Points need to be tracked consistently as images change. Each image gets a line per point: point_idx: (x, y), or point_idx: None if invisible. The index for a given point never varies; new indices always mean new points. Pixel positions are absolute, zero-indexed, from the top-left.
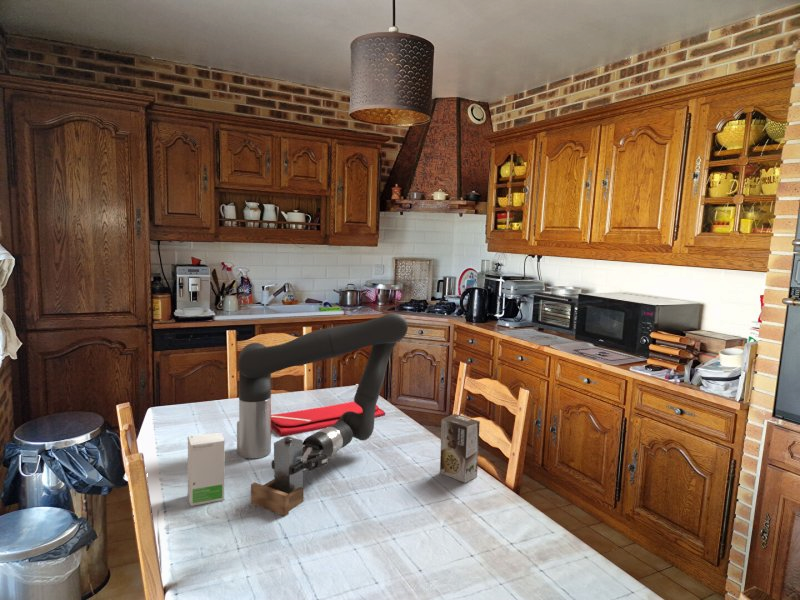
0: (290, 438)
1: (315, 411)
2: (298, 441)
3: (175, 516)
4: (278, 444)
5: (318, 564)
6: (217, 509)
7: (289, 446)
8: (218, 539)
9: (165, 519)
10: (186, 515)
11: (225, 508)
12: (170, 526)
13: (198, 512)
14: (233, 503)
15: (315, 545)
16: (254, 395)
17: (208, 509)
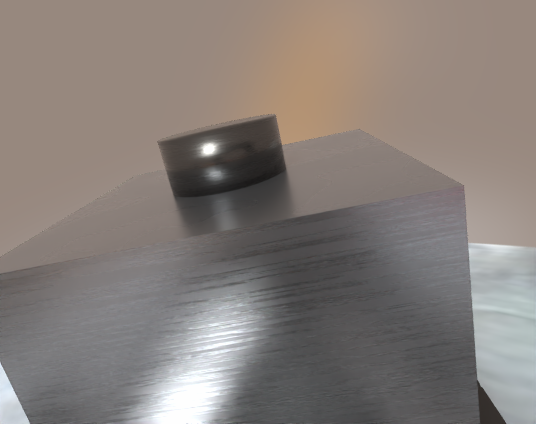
0: (186, 136)
1: None
2: (57, 233)
3: (527, 261)
4: (289, 146)
5: (5, 373)
6: (497, 334)
7: (144, 177)
8: None
9: (523, 248)
10: (514, 276)
11: (486, 353)
12: (470, 249)
13: (514, 296)
14: (516, 390)
15: (20, 416)
16: None
17: (519, 318)
